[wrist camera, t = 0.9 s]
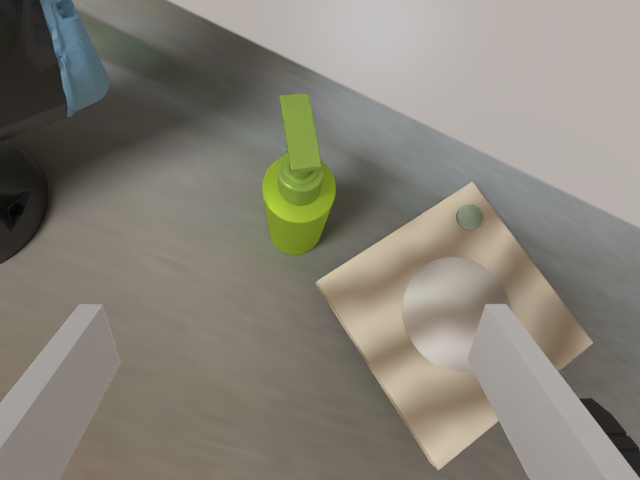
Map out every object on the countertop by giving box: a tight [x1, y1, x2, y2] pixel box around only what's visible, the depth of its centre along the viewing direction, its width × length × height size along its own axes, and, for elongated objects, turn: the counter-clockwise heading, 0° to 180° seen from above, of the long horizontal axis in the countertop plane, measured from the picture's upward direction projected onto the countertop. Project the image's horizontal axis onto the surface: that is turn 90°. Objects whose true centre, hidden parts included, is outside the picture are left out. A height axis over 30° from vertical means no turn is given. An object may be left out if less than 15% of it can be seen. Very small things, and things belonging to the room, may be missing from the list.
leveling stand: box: [315, 182, 593, 470], centre depth 39 cm, size 20×20×6 cm
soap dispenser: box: [262, 93, 336, 255], centre depth 33 cm, size 6×7×20 cm
